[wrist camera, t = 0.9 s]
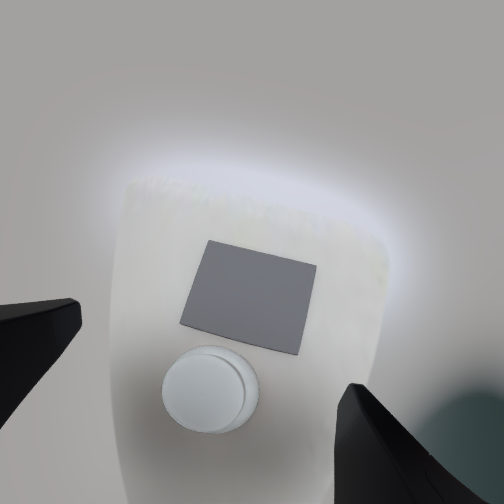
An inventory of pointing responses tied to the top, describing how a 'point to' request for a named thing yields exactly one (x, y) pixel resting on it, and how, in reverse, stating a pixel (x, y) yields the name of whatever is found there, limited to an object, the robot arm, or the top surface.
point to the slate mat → (250, 297)
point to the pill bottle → (210, 390)
